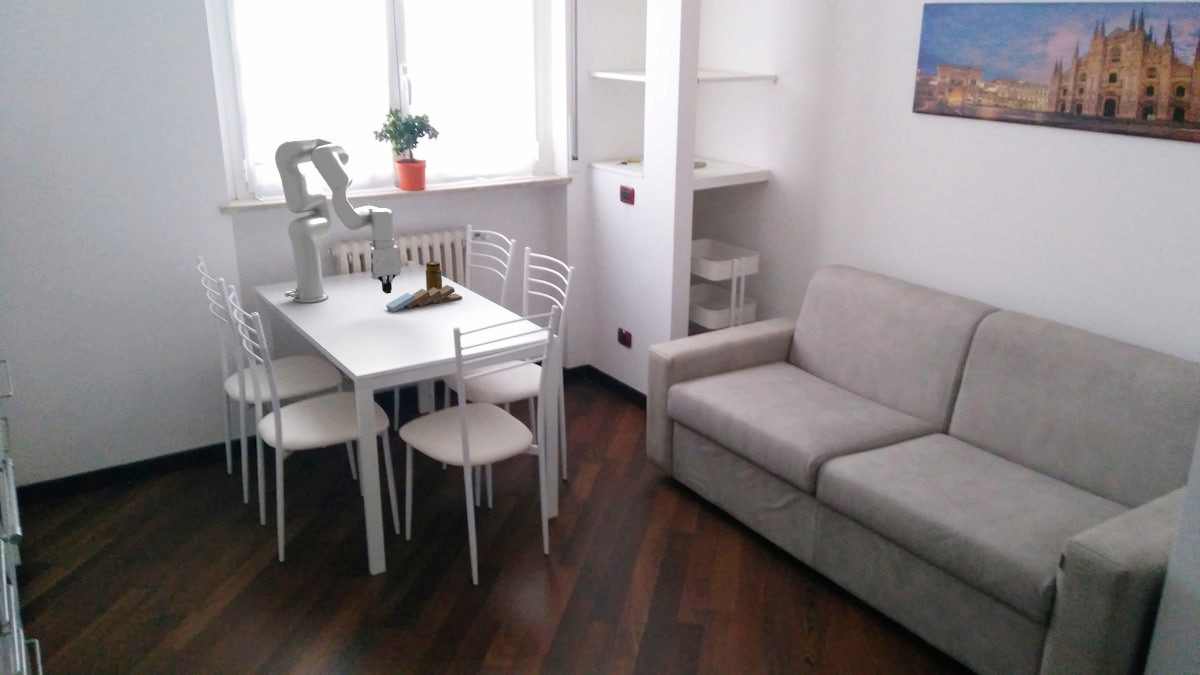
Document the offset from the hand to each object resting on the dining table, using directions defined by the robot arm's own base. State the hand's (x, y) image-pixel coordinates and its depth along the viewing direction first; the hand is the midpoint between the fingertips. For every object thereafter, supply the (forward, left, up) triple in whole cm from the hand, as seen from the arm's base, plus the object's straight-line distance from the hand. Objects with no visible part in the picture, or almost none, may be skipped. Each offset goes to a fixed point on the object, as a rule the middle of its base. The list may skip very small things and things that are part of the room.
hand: (387, 292), depth 335 cm
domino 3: (+12, 0, -6) cm, 13 cm away
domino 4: (+17, 0, -6) cm, 18 cm away
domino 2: (+7, 0, -6) cm, 9 cm away
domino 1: (+1, 0, -6) cm, 6 cm away
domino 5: (+20, 0, -7) cm, 21 cm away
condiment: (+25, +11, -7) cm, 28 cm away
